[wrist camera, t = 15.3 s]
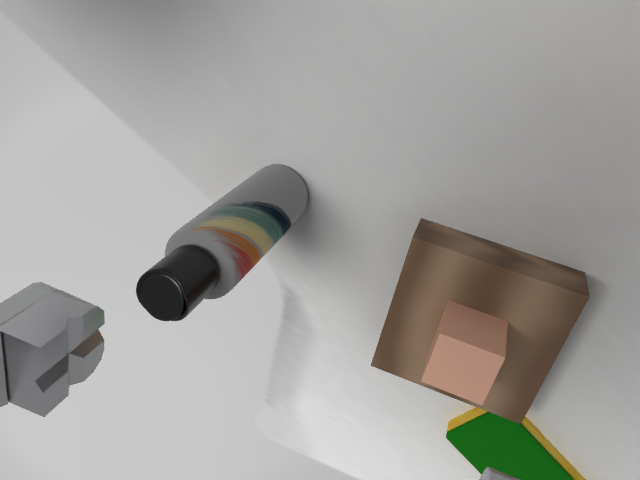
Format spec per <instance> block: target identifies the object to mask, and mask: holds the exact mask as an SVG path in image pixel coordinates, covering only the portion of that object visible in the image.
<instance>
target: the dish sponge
mask: <svg viewBox="0 0 640 480" xmlns="http://www.w3.org/2000/svg"><path fill="white" fill-rule="evenodd" d="M446 438H447V439H448V440H449V441H450V442H451V443H452V444H453V445H454V446H455V447H456V448H457V449H458V451H459V452H460V453H461V454H462V455H463V456H464V457H465V458H466V459H467V460H468V461H469V462H470V463H471V464H472V465H473V466H474V467H475V468H476V469H477V470H478V471H479V472H480V473H481V474H482V473H483V472H484V470H485V469H486V468H487V467H490V468H493V469H495V470H498V471H500V472H503V473H505V474H508V475H510V476H513V477H515V478H518V479H520V480H585V479H584V478H583V477H582V476H581V475H580V474H579V473H578V472H577V471H576V470H575V469H574V468H573V467H572V465H571V464H570V463H569V462H568V461H567V460H566V459H565V458H564V457H563V456H562V455H561V454H560V453H559V452H558V451H557V450H556V449H555V447H554V446H553V445H552V444H551V443H550V442H549V441H548V440H547V439H546V438H545V437H544V436H543V435H542V434H541V433H540V432H539V431H538V429H537V428H536V427H535V426H534V425H533V424H532V423H531V422H530V421H529V420H528V419H527V418H526V417H524V419H523V420H522V422H521V424H519V423H516V422H514V421H511V420H509V419H506V418H503V417H501V416H498V415H496V414H493V413H491V412H488V411H486V410H483V409H481V408H478V407H476V408H474V409H472V410H470V411H468V412H466V413H464V414H462V415H460V416H458V417H456V418H454V419H452V420H450V421H449V424H448V429H447V435H446Z"/></svg>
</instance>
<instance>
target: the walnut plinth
mask: <svg viewBox="0 0 640 480" xmlns="http://www.w3.org/2000/svg"><path fill="white" fill-rule="evenodd" d="M588 298H589V293H588V287H587V282H586V276H585V273H584V272H581V271H578V270H575V269H572V268H569V267H566V266H563V265H560V264H557V263H554V262H551V261H548V260H545V259H542V258H539V257H536V256H533V255H530V254H527V253H524V252H521V251H518V250H515V249H512V248H509V247H506V246H503V245H500V244H497V243H494V242H491V241H488V240H485V239H482V238H479V237H476V236H473V235H470V234H467V233H464V232H461V231H458V230H455V229H452V228H449V227H446V226H443V225H440V224H436V223H433V222H430V221H427V220H424V219H421V220H420V222H419V224H418V226H417V229H416V231H415V233H414V235H413V238H412V241H411V244H410V247H409V250H408V253H407V256H406V259H405V262H404V265H403V268H402V272H401V275H400V278H399V281H398V284H397V287H396V290H395V293H394V296H393V299H392V302H391V305H390V308H389V311H388V314H387V317H386V321H385V324H384V327H383V330H382V333H381V336H380V339H379V342H378V345H377V348H376V351H375V354H374V357H373V360H372V363H371V366H373V367H376V368H378V369H381V370H384V371H386V372H389V373H391V374H394V375H396V376H399V377H401V378H404V379H407V380H409V381H412V382H414V383H417V384H419V385H422V386H424V387H427V388H430V389H432V390H435V391H437V392H440V393H442V394H445V395H447V396H450V397H452V398H455V399H458V400H460V401H463V402H465V403H468V404H470V405H473V406H475V407H478V408H481V409H483V410H486V411H488V412H491V413H493V414H496V415H498V416H501V417H503V418H506V419H509V420H511V421H514V422H516V423H519V424H521V422H522V420H523V419H524V417H525V415H526V413H527V411H528V409H529V408H530V406H531V404H532V402H533V400H534V398H535V396H536V395H537V393H538V391H539V389H540V387H541V385H542V383H543V382H544V380H545V378H546V376H547V374H548V372H549V370H550V369H551V367H552V365H553V363H554V361H555V359H556V358H557V356H558V354H559V352H560V350H561V348H562V346H563V345H564V343H565V341H566V339H567V337H568V335H569V333H570V332H571V330H572V328H573V326H574V324H575V322H576V320H577V319H578V317H579V315H580V313H581V311H582V309H583V308H584V306H585V304H586V302H587V300H588ZM448 300H450V301H452V302H455V303H458V304H461V305H463V306H466V307H469V308H472V309H475V310H477V311H480V312H483V313H486V314H488V315H491V316H494V317H497V318H499V319H502V320H505V321H508V327H507V341H506V356H505V360H504V362H503V364H502V366H501V368H500V370H499V372H498V374H497V376H496V378H495V380H494V382H493V384H492V386H491V388H490V390H489V393H488V395H487V397H486V399H485V401H484V403H483V405H479V404H477V403H474V402H472V401H469V400H467V399H464V398H462V397H459V396H457V395H454V394H451V393H449V392H446V391H444V390H441V389H439V388H436V387H434V386H431V385H429V384H426V383H424V382H421V379H422V375H423V372H424V368H425V364H426V360H427V357H428V353H429V349H430V346H431V343H432V341H433V338H434V335H435V333H436V330H437V328H438V325H439V323H440V320H441V318H442V315H443V313H444V310H445V307H446V305H447V302H448Z"/></svg>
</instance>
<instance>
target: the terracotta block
mask: <svg viewBox="0 0 640 480" xmlns="http://www.w3.org/2000/svg"><path fill="white" fill-rule="evenodd" d="M507 327H508V321H505V320H502V319H499V318H497V317H494V316H491V315H488V314H486V313H483V312H480V311H477V310H475V309H472V308H469V307H466V306H463V305H461V304H458V303H455V302H452V301H450V300H448V302H447V305H446V307H445V310H444V313H443V315H442V318H441V320H440V323H439V325H438V328H437V330H436V333H435V335H434V338H433V341H432V343H431V346H430V349H429V353H428V357H427V360H426V364H425V368H424V372H423V375H422V379H421V382H424V383H426V384H429V385H431V386H434V387H436V388H439V389H441V390H444V391H446V392H449V393H451V394H454V395H457V396H459V397H462V398H464V399H467V400H469V401H472V402H474V403H477V404H479V405H483V403H484V401H485V399H486V397H487V395H488V393H489V390H490V388H491V386H492V384H493V382H494V380H495V378H496V376H497V374H498V372H499V370H500V368H501V366H502V364H503V362H504V360H505V356H506V341H507Z"/></svg>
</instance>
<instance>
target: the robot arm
mask: <svg viewBox="0 0 640 480" xmlns="http://www.w3.org/2000/svg"><path fill="white" fill-rule="evenodd" d="M103 324H104V311H103V310H102V309H101V308H99V307H98V306H95V305H93V304H91V303H89V302H86V301H84V300H82V299H80V298H77V297H75V296H73V295H70V294H68V293H66V292H64V291H61V290H58V289H56V288H54V287H51V286H49V285H47V284H45V283H43V282H38V283H33V284H31V285H29V286H28V287H26V288H25V289H23V290H21V291H20V292H18V293H17V294H15V295H13V296H12V297H10V298H9V299H7V300H5V301H3V302H2V303H0V407H2V406H4V405H7V404H8V402H10V403H13V404H15V405H17V406H20V407H22V408H25V409H27V410H29V411H31V412H34V413H36V414H38V415H41V416H43V417H45V416H46V415H47V414H48V413H49V412H50V411H51V410H53V409H54V408H55V407H56V406H57V405H58V404H59V403H60V402H61V401H63V400H64V399H65V398H66V397H67V396H68V393H69V386H70V385H73V384H76V383H80V382H83V381H84V380H85V379H87V378H88V377H89V376H90V375H91V374H92V373H93V372H94V370H95V369H96V367H97V365H98V363H99V362H100V360H101V357H102V354H103V351H104V339H103V337H102V335H101V333H100V332H99V330H98V329H99V328H100V327H101V326H102V325H103ZM479 480H520V479H518V478H515V477H513V476H510V475H508V474H505V473H503V472H500V471H498V470H495V469H493V468H490V467H487V468H486V469H485V470H484V472H483V473H482V475H481V477H480V479H479Z"/></svg>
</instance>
